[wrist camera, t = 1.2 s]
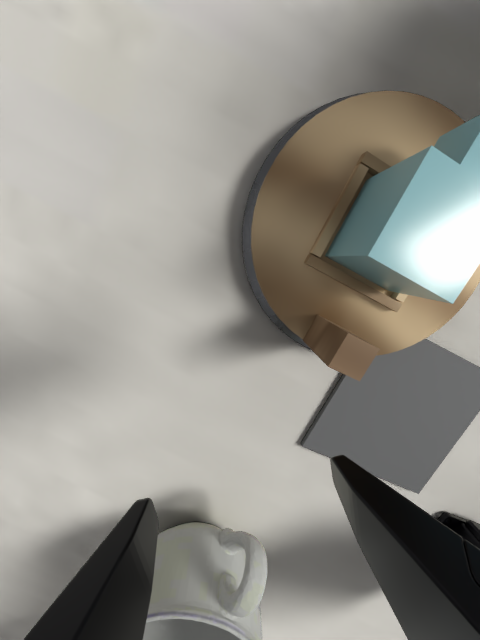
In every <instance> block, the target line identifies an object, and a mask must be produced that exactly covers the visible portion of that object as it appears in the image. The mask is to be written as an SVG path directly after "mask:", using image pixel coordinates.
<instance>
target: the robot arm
mask: <svg viewBox="0 0 480 640" xmlns="http://www.w3.org/2000/svg"><path fill="white" fill-rule="evenodd" d="M330 462H331V469H332V477H333V482H334V485H335V488H336V490H337V493H338V495H339V498H340V500H341V502H342V505H343V507H344V510H345V512H346V515H347V517H348V520H349V522H350V525H351V527H352V530H353V532H354V534H355V537H356V539H357V541H358V544H359V546H360V548H361V550H362V552H363V554H364V556H365V558H366V560H367V561H368V563H369V565H370V567H371V569H372V571H373V573H374V575H375V577H376V579H377V581H378V583H379V585H380V587H381V588H382V590H383V592H384V594H385V596H386V598H387V600H388V602H389V604H390V606H391V608H392V610H393V612H394V614H395V616H396V617H397V619H398V621H399V623H400V625H401V627H402V629H403V631H404V633H405V635H406V637H407V639H408V640H480V524H478V523H476V522H473V521H470V520H465V519H463V518H460V517H458V516H455V515H453V514H450V513H444V514H442V515H441V516H440V518H439V519H438V520H437V519H435V518H434V517H432V516H431V515H430V514H428V513H427V512H425V511H424V510H422V509H421V508H420V507H418V506H417V505H415V504H414V503H412V502H411V501H409V500H408V499H407V498H405V497H404V496H402V495H401V494H399V493H398V492H397V491H395V490H394V489H392V488H391V487H389V486H388V485H386V484H385V483H384V482H382V481H381V480H379V479H378V478H376V477H375V476H374V475H372V474H371V473H369V472H368V471H366V470H365V469H363V468H362V467H361V466H359V465H358V464H356V463H355V462H353V461H352V460H351V459H349V458H348V457H346V456H345V455H338V456H333V457H331V459H330ZM158 528H159V521H158V517H157V514H156V511H155V508H154V505H153V502H152V500H151V499H150V498H145V499H141V500H137V501H136V502H135V503H134V504H133V505H132V507H131V508H130V509H129V510H128V512H127V513H126V514H125V515H124V516H123V518H122V519H121V520H120V521H119V523H118V524H117V525H116V526H115V528H114V529H113V530H112V531H111V532H110V534H109V535H108V536H107V537H106V539H105V540H104V541H103V542H102V544H101V545H100V546H99V547H98V548H97V550H96V551H95V552H94V553H93V555H92V556H91V557H90V558H89V560H88V561H87V562H86V563H85V564H84V566H83V567H82V568H81V569H80V571H79V572H78V573H77V574H76V576H75V577H74V578H73V579H72V580H71V582H70V583H69V584H68V585H67V587H66V588H65V589H64V590H63V592H62V593H61V594H60V595H59V596H58V598H57V599H56V600H55V601H54V603H53V604H52V605H51V606H50V608H49V609H48V610H47V611H46V612H45V614H44V615H43V616H42V617H41V619H40V620H39V621H38V622H37V624H36V625H35V626H34V627H33V628H32V630H31V631H30V632H29V633H28V635H27V636H26V637H25V638H24V640H143V636H144V631H145V625H146V620H147V615H148V610H149V604H150V599H151V593H152V586H153V577H154V568H155V558H156V548H157V538H158Z"/></svg>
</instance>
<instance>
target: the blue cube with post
mask: <svg viewBox="0 0 480 640" xmlns="http://www.w3.org/2000/svg"><path fill="white" fill-rule="evenodd" d="M325 256H326V257H327V258H329V259H331V260H333V261H335V262H337V263H338V264H340V265H342V266H344V267H346V268H347V269H349V270H351V271H353V272H355V273H357V274H358V275H360V276H362V277H364V278H366V279H368V280H369V281H371V282H373V283H375V284H377V285H378V286H380V287H382V288H384V289H386V290H388V291H392V292H397V293H402V294H407V295H412V296H416V297H421V298H426V299H431V300H436V301H441V302H446V303H451V304H453V303H454V302H455V300H456V299H457V297H458V296H459V294H460V293H461V291H462V290H463V288H464V287H465V285H466V284H467V282H468V281H469V279H470V277H471V276H472V274H473V273H474V271H475V270H476V268H477V267H478V265H479V264H480V115H478V116H477V117H475V118H473V119H471V120H469V121H467V122H466V123H464V124H462V125H460V126H458V127H456V128H455V129H453V130H451V131H449V132H447V133H446V134H444V135H442V136H440V137H439V139H438V140H437V142H436V144H435V146H434V147H433V146H432V145H431V146H430V147H428V148H426V149H424V150H422V151H420V152H418V153H416V154H414V155H413V156H411V157H409V158H407V159H405V160H403V161H401V162H399V163H397V164H395V165H394V166H392V167H390V168H388V169H386V170H384V171H382V172H380V173H378V174H377V175H375V176H373V177H371V178H369V179H367V180H366V181H365V183H364V185H363V187H362V189H361V191H360V192H359V194H358V196H357V198H356V200H355V202H354V203H353V205H352V207H351V209H350V211H349V213H348V214H347V216H346V218H345V220H344V222H343V223H342V225H341V227H340V229H339V231H338V233H337V234H336V236H335V238H334V240H333V242H332V244H331V245H330V247H329V249H328V251H327V253H326V255H325Z"/></svg>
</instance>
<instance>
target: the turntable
mask: <svg viewBox="0 0 480 640" xmlns="http://www.w3.org/2000/svg"><path fill="white" fill-rule="evenodd" d="M464 123H465V122H464V121H463V120H462V119H461V118H460V117H459V116H457V115H456V114H455V113H454V112H453V111H452V110H450V109H448V108H447V107H445V106H443V105H442V104H440V103H438V102H437V101H434V100H432V99H429V98H426V97H424V96H421V95H417V94H413V93H408V92H402V91H378V92H369V93H365V94H361V95H357V96H353V97H350V98H348V99H345V100H343V101H341V102H338V103H336V104H334V105H332V106H330V107H328V108H327V109H325V110H323V111H322V112H320V113H319V114H317V115H316V116H314V117H313V118H312V119H311V120H309V121H308V122H307V123H306V124H304V125H303V126H302V127H301V128H300V129H299V130H298V131H297V132H296V133H295V134H294V135H293V136H292V137H291V139H290V140H289V141H288V142H287V143H286V145H285V146H284V147H283V149H282V150H281V151H280V153H279V154H278V156H277V157H276V159H275V161H274V162H273V164H272V166H271V168H270V170H269V171H268V173H267V175H266V177H265V179H264V181H263V184H262V186H261V189H260V191H259V194H258V197H257V201H256V205H255V208H254V213H253V220H252V227H251V251H252V260H253V265H254V269H255V273H256V278H257V280H258V283H259V285H260V288H261V291H262V293H263V295H264V297H265V298H266V300H267V302H268V304H269V306H270V307H271V308H272V310H273V311H274V312H275V314H276V315H277V316H278V318H279V319H280V320H281V321H282V322H283V323H284V324H285V325H286V326H287V327H288V328H289V329H290V330H291V331H292V332H294V333H295V334H296V335H298V336H299V337H300V338H301V339H303V341H304V342H305V343H306V344H307V345H308V346H309V348H310V349H311V350H312V351H313V352H314V353H315V354H316V355H317V356H318V357H319V358H320V359H321V360H322V361H323V362H324V363H325V364H326V365H327V366H328V367H330V368H332V369H334V370H336V371H338V372H341V373H343V374H345V375H347V376H349V377H351V378H353V379H355V380H358V381H360V380H361V379H362V377H363V376H364V374H365V372H366V371H367V369H368V368H369V366H370V364H371V363H372V361H373V360H374V358H375V356H378V355H384V354H388V353H392V352H396V351H399V350H402V349H404V348H407V347H409V346H412V345H414V344H416V343H418V342H420V341H422V340H423V339H425V338H427V337H428V336H430V335H431V334H433V333H434V332H436V331H437V330H439V329H440V328H441V327H442V326H443V325H445V324H446V323H447V322H448V321H449V320H450V319H451V318H452V317H453V316H454V315H455V314H456V313H457V312H458V311H459V310H460V309H461V308H462V307H463V305H464V304H465V303H466V301H467V300H468V299H469V297H470V296H471V295H472V293H473V292H474V290H475V288H476V286H477V285H478V283H479V281H480V264H479V265H478V267H477V268H476V270H475V271H474V273H473V274H472V276H471V277H470V279H469V281H468V282H467V284H466V285H465V287H464V288H463V290H462V291H461V293H460V294H459V296H458V297H457V299H456V300H455V302H454V303H453V304H451V303H446V302H441V301H436V300H431V299H426V298H421V297H416V296H412V295H407V294H402V293H397V292H392V291H388V290H386V289H384V288H382V287H380V286H378V285H377V284H375V283H373V282H371V281H369V280H368V279H366V278H364V277H362V276H360V275H358V274H357V273H355V272H353V271H351V270H349V269H347V268H346V267H344V266H342V265H340V264H338V263H337V262H335V261H333V260H331V259H329V258H327V257H326V256H325V255H326V253H327V251H328V249H329V247H330V245H331V244H332V242H333V240H334V238H335V236H336V234H337V233H338V231H339V229H340V227H341V225H342V223H343V222H344V220H345V218H346V216H347V214H348V213H349V211H350V209H351V207H352V205H353V203H354V202H355V200H356V198H357V196H358V194H359V192H360V191H361V189H362V187H363V185H364V183H365V181H366V180H367V179H369V178H371V177H373V176H375V175H377V174H378V173H380V172H382V171H384V170H386V169H388V168H390V167H392V166H394V165H395V164H397V163H399V162H401V161H403V160H405V159H407V158H409V157H411V156H413V155H414V154H416V153H418V152H420V151H422V150H424V149H426V148H428V147H430V146H431V145H432V146H433V147H434V146H435V144H436V142H437V140H438V139H439V137H440V136H442V135H444V134H446V133H447V132H449V131H451V130H453V129H455V128H456V127H458V126H460V125H462V124H464Z"/></svg>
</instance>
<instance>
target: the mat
mask: <svg viewBox="0 0 480 640" xmlns="http://www.w3.org/2000/svg"><path fill="white" fill-rule="evenodd" d="M479 411H480V367H478V366H476V365H474V364H472V363H471V362H469V361H467V360H465V359H463V358H461V357H459V356H457V355H455V354H454V353H452V352H450V351H448V350H446V349H444V348H442V347H440V346H438V345H437V344H435V343H433V342H431V341H429V340H427V339H423V340H422V341H420V342H418V343H416V344H414V345H412V346H409V347H407V348H404V349H402V350H399V351H396V352H392V353H388V354H384V355H378V356H375V358H374V360H373V361H372V363H371V364H370V366H369V368H368V369H367V371H366V372H365V374H364V376H363V377H362V379H361V380H360V381H358V380H355V379H353V378H351V377H349V376H347V375H345V374H343V375H342V377H341V378H340V380H339V382H338V383H337V385H336V386H335V388H334V390H333V391H332V393H331V395H330V396H329V398H328V400H327V401H326V403H325V404H324V406H323V408H322V409H321V411H320V413H319V414H318V416H317V418H316V419H315V421H314V422H313V424H312V426H311V427H310V429H309V431H308V432H307V434H306V436H305V437H304V439H303V440H302V442H301V445H302V447H305V448H307V449H310V450H312V451H315V452H317V453H320V454H322V455H325V456H327V457H329V458H331V457H333V456H338V455H345V456H346V457H348V458H349V459H351V460H352V461H353V462H355V463H356V464H358V465H359V466H361V467H362V468H363V469H365V470H366V471H368V472H369V473H371V474H372V475H374V476H376V477H379V478H381V479H384V480H386V481H388V482H391V483H393V484H396V485H398V486H401V487H403V488H406V489H408V490H411V491H413V492H416V493H418V494H419V493H420V491H421V490H422V488H423V487H424V486H425V484H426V483H427V482H428V480H429V479H430V478H431V476H432V475H433V474H434V472H435V471H436V469H437V468H438V467H439V465H440V464H441V463H442V461H443V460H444V459H445V457H446V456H447V455H448V453H449V452H450V450H451V449H452V448H453V446H454V445H455V444H456V442H457V441H458V440H459V438H460V437H461V436H462V434H463V433H464V431H465V430H466V429H467V427H468V426H469V425H470V423H471V422H472V421H473V419H474V418H475V417H476V415H477V414H478V412H479Z"/></svg>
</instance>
